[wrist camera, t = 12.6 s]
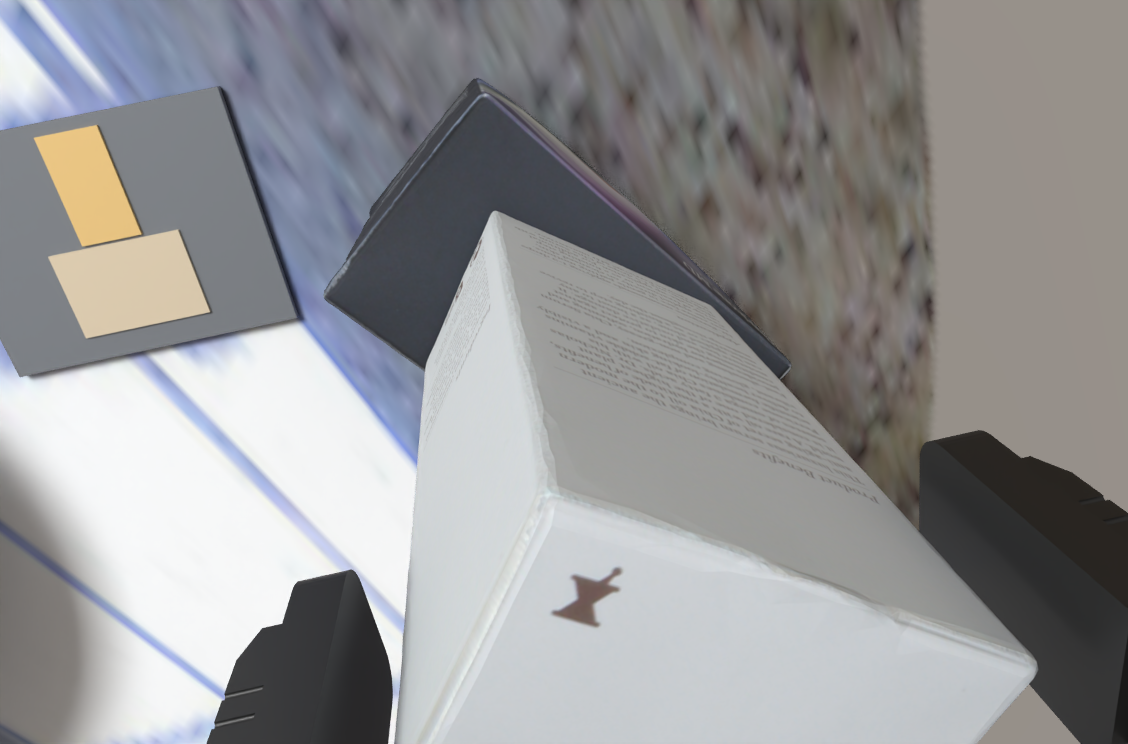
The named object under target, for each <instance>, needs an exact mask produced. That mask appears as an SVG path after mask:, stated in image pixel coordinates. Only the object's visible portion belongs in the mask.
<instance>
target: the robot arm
mask: <svg viewBox="0 0 1128 744" xmlns="http://www.w3.org/2000/svg"><path fill="white" fill-rule="evenodd" d="M919 532H920V533H921V534H922V535H923V536H924V538H925V539H926V540H927V541H928V542H929V543H930V544H931V545H932V546H933V547H934V548H935V549H936V550H937V552H938V553H939V554H940V555H941V556H942V557H943V558H944V559H945V560H946V562H947V563H948V564H949V565H950V566H951V568H952V569H953V570H954V571H955V572H956V573H957V574H958V575H959V577H960V578H961V579H962V580H963V581H964V582H965V583H966V584H967V585H968V586H969V587H970V588H971V589H972V590H973V591H974V592H975V594H976V595H977V596H978V597H979V598H980V599H981V600H982V601H983V602H984V603H985V605H986V606H987V607H988V608H989V609H990V610H991V611H992V612H993V613H994V614H995V616H996V617H997V618H998V619H999V620H1000V621H1001V622H1002V623H1003V624H1004V626H1005V627H1006V628H1007V629H1008V630H1009V631H1010V632H1011V633H1012V634H1013V635H1014V636H1015V637H1016V638H1017V639H1018V640H1019V641H1020V642H1021V644H1022V645H1023V646H1024V647H1025V648H1026V649H1027V650H1028V651H1029V652H1030V653H1031V654H1032V655H1033V657H1034V658H1035V660H1036V661H1037V665H1038V672H1037V674H1036V675H1035V677H1034V678H1033V680H1032V681H1031V682H1030V683H1029V685H1031V687H1032V688H1033V689H1034V690H1035V691H1036V693H1037V694H1038V695H1039V696H1040V697H1041V698H1042V699H1043V701H1044V702H1045V703H1046V704H1047V705H1048V706H1049V708H1050V709H1051V710H1052V711H1053V712H1054V713H1055V715H1056V716H1057V717H1058V718H1059V719H1060V720H1061V721H1062V723H1063V724H1064V725H1065V726H1066V727H1067V728H1068V729H1069V731H1070V732H1071V733H1072V734H1073V735H1074V736H1075V738H1076V739H1077V740H1078V741H1079V742H1080V743H1081V744H1128V513H1127V512H1126V511H1124V510H1123V509H1121V508H1120V507H1119V506H1117V505H1116V504H1115V503H1113V502H1112V501H1110V500H1106V501H1105V500H1104V498H1103V495H1102V494H1101V493H1099V492H1098V491H1097V490H1095V489H1093V488H1092V487H1091V486H1090V485H1088V484H1087V483H1086V482H1084V481H1083V480H1081V479H1080V478H1079V477H1077V476H1076V475H1074V474H1073V473H1072V472H1069V471H1067V470H1064V469H1061V468H1059V467H1056V466H1054V465H1051V464H1049V463H1046V462H1043V461H1041V460H1039V459H1036V458H1033V457H1031V456H1029V457H1025V458H1020V457H1019V456H1018V455H1016V454H1015V453H1014V452H1012V451H1011V450H1010V449H1009V448H1007V447H1006V446H1005V445H1003V444H1002V443H1001V442H999V441H998V440H997V439H995V438H994V437H993V436H992V435H990V434H989V433H987V432H985V431H980V430H978V431H974V432H969V433H965V434H960V435H956V436H951V437H947V438H942V439H939V440H933V441H929V442H926V443H925V444H924V445H923V446H922V449H921V453H920V503H919ZM392 699H393V688H392V677H391V670H390V664H389V660H388V656H387V653H386V650H385V647H384V644H383V642H382V639H381V636H380V633H379V631H378V628H377V625H376V623H375V620H374V617H373V614H372V612H371V609H370V606H369V603H368V601H367V598H366V595H365V592H364V590H363V587H362V584H361V582H360V579H359V577H358V575H357V574H356V572H355V571H353V570H347V571H343V572H338V573H334V574H330V575H325V576H321V577H316V578H312V579H307V580H303V581H298V582H297V583H296V584H295V585H294V587H293V590H292V593H291V597H290V600H289V603H288V607H287V610H286V613H285V616H284V620H283V623H282V624H279V625H275V626H270V627H266V628H262V629H261V631H260V632H259V633H258V634H257V636H256V637H255V638H254V639H253V641H252V642H251V643H250V644H249V646H248V647H247V648H246V649H245V650H244V652H243V653H242V654H241V655H240V657H239V658H238V659H237V660H236V663H235V666H234V669H233V672H232V674H231V677H230V680H229V683H228V685H227V688H226V691H225V700H223V701H222V702H221V705H220V708H219V711H218V713H217V716H216V719H215V722H214V723H215V729H212V730H211V733H210V736H209V738H208V741H207V744H388V739H389V729H390V720H391V710H392Z"/></svg>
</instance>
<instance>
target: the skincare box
mask: <svg viewBox="0 0 1128 744" xmlns="http://www.w3.org/2000/svg"><path fill="white" fill-rule="evenodd" d="M1037 672H1038V665H1037V661H1036V660H1035V658H1034V657H1033V655H1032V654H1031V653H1030V652H1029V651H1028V650H1027V649H1026V648H1025V647H1024V646H1023V645H1022V644H1021V642H1020V641H1019V640H1018V639H1017V638H1016V637H1015V636H1014V635H1013V634H1012V633H1011V632H1010V631H1009V630H1008V629H1007V628H1006V627H1005V626H1004V624H1003V623H1002V622H1001V621H1000V620H999V619H998V618H997V617H996V616H995V614H994V613H993V612H992V611H991V610H990V609H989V608H988V607H987V606H986V605H985V603H984V602H983V601H982V600H981V599H980V598H979V597H978V596H977V595H976V594H975V592H974V591H973V590H972V589H971V588H970V587H969V586H968V585H967V584H966V583H965V582H964V581H963V580H962V579H961V578H960V577H959V575H958V574H957V573H956V572H955V571H954V570H953V569H952V568H951V566H950V565H949V564H948V563H947V562H946V560H945V559H944V558H943V557H942V556H941V555H940V554H939V553H938V552H937V550H936V549H935V548H934V547H933V546H932V545H931V544H930V543H929V542H928V541H927V540H926V539H925V538H924V536H923V535H922V534H921V533H920V532H919V531H918V530H917V529H916V528H915V527H914V526H913V525H912V523H911V522H910V521H909V520H908V519H907V518H906V517H905V515H904V514H903V513H902V512H901V511H900V510H899V509H898V508H897V507H896V506H895V505H894V504H893V503H892V502H891V501H890V500H889V498H888V497H887V496H886V495H885V494H884V493H883V491H882V490H881V489H880V488H879V487H878V486H877V485H876V484H875V483H874V482H873V481H872V479H871V478H870V477H869V476H868V475H867V474H866V473H865V472H864V471H863V470H862V469H861V468H860V467H859V466H858V465H857V464H856V463H855V461H854V460H853V459H852V458H851V457H850V456H849V455H848V454H847V453H846V451H845V450H844V449H843V448H842V447H841V446H840V445H839V444H838V443H837V442H836V440H835V439H834V438H833V437H832V436H831V435H830V434H829V433H828V432H827V431H826V430H825V428H824V427H823V426H822V425H821V424H820V423H819V422H818V421H817V420H816V419H815V418H814V416H813V415H812V414H811V413H810V412H809V411H808V410H807V409H806V408H805V407H804V406H803V405H802V404H801V403H800V401H799V400H798V399H797V398H796V397H795V396H794V395H793V394H792V393H791V392H790V391H789V390H788V388H787V387H786V386H785V385H784V384H783V383H782V382H781V381H780V380H779V379H778V378H777V376H776V375H775V374H774V373H773V372H772V371H771V370H770V369H769V368H768V367H767V366H766V365H765V363H764V362H763V361H762V360H761V359H760V358H759V357H758V356H757V355H756V354H755V353H754V352H753V350H752V349H751V348H750V347H749V346H748V345H747V344H746V343H745V342H744V341H743V339H742V338H741V337H740V336H739V335H738V334H737V333H736V332H735V331H734V330H733V328H732V327H731V326H730V325H729V324H728V323H727V322H726V321H725V320H724V318H723V317H722V316H721V315H720V314H719V313H718V312H717V311H716V310H715V309H714V308H713V307H712V306H711V305H709V304H707V303H704V302H702V301H700V300H698V299H695V298H693V297H691V296H689V295H686V294H684V293H682V292H680V291H677V290H675V289H673V288H671V287H668V286H666V285H664V284H662V283H659V282H657V281H655V280H653V279H650V278H648V277H646V276H644V275H641V274H639V273H637V272H634V271H632V270H630V269H627V268H625V267H623V266H621V265H619V264H617V263H614V262H612V261H610V260H607V259H605V258H603V257H601V256H598V255H596V254H594V253H591V252H589V251H587V250H585V249H582V248H580V247H578V246H576V245H573V244H571V243H569V242H567V241H564V240H562V239H560V238H557V237H555V236H553V235H550V234H548V233H546V232H544V231H541V230H539V229H537V228H535V227H532V226H530V225H528V224H525V223H523V222H521V221H518V220H516V219H514V218H512V217H509V216H507V215H505V214H503V213H501V212H498V211H493V212H492V213H491V215H490V217H489V220H488V222H487V224H486V227H485V229H484V231H483V234H482V236H481V238H480V240H479V243H478V245H477V247H476V249H475V252H474V254H473V256H472V258H471V260H470V262H469V265H468V267H467V269H466V271H465V273H464V275H463V278H462V280H461V283H460V285H459V288H458V290H457V292H456V295H455V297H454V300H453V302H452V305H451V307H450V310H449V312H448V314H447V317H446V319H445V321H444V324H443V326H442V328H441V331H440V333H439V336H438V338H437V340H436V343H435V345H434V347H433V349H432V351H431V353H430V356H429V358H428V360H427V363H426V368H425V381H424V393H423V403H422V413H421V428H420V439H419V451H418V464H417V477H416V488H415V500H414V511H413V528H412V538H411V553H410V564H409V571H408V584H407V598H406V611H405V623H404V633H403V650H402V667H401V680H400V691H399V701H398V711H397V721H396V732H395V742H394V744H977V743H978V742H979V741H980V739H981V738H982V737H983V736H984V735H985V733H986V732H987V731H988V730H989V729H990V728H991V727H992V725H993V724H994V723H995V722H996V721H997V720H998V719H999V717H1000V716H1001V715H1002V714H1003V713H1004V712H1005V711H1006V709H1007V708H1008V707H1009V706H1010V705H1011V704H1012V703H1013V702H1014V700H1015V699H1016V698H1017V697H1018V696H1019V695H1020V694H1021V692H1022V691H1023V690H1024V689H1025V688H1026V687H1027V685H1028V684H1029V683H1030V682H1031V681H1032V680H1033V678H1034V677H1035V675H1036V674H1037Z"/></svg>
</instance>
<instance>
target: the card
mask: <svg viewBox="0 0 1128 744" xmlns="http://www.w3.org/2000/svg"><path fill="white" fill-rule="evenodd" d="M298 316H299V315H298V312H297V309H296V306H295V304H294V301H293V298H292V295H291V292H290V289H289V286H288V283H287V280H286V277H285V274H284V272H283V269H282V266H281V263H280V260H279V257H278V254H277V251H276V248H275V245H274V242H273V239H272V237H271V234H270V231H269V228H268V225H267V222H266V219H265V216H264V213H263V210H262V207H261V205H260V202H259V199H258V196H257V193H256V190H255V187H254V184H253V181H252V178H251V175H250V173H249V170H248V167H247V164H246V161H245V158H244V155H243V152H242V149H241V146H240V143H239V140H238V138H237V135H236V132H235V129H234V126H233V123H232V120H231V117H230V114H229V111H228V108H227V106H226V103H225V100H224V97H223V94H222V91H221V88H220V86H219V87H214V88H209V89H204V90H199V91H194V92H189V93H184V94H179V95H174V96H169V97H164V98H159V99H154V100H149V101H144V102H139V103H134V104H129V105H125V106H120V107H115V108H110V109H105V110H100V111H95V112H90V113H85V114H80V115H75V116H70V117H65V118H60V119H55V120H50V121H45V122H40V123H36V124H31V125H26V126H21V127H16V128H11V129H6V130H1V131H0V340H1V342H2V344H3V346H4V348H5V350H6V351H7V353H8V355H9V357H10V359H11V361H12V363H13V365H14V367H15V369H16V371H17V373H18V375H19V377H23V376H28V375H32V374H37V373H42V372H46V371H51V370H56V369H60V368H65V367H70V366H75V365H79V364H84V363H89V362H93V361H98V360H103V359H107V358H112V357H117V356H121V355H126V354H131V353H136V352H140V351H145V350H150V349H154V348H159V347H164V346H168V345H173V344H178V343H183V342H187V341H192V340H197V339H201V338H206V337H211V336H215V335H220V334H225V333H229V332H234V331H239V330H244V329H248V328H253V327H258V326H262V325H267V324H272V323H276V322H281V321H286V320H290V319H295V318H297V317H298Z"/></svg>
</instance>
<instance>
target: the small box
mask: <svg viewBox="0 0 1128 744" xmlns="http://www.w3.org/2000/svg"><path fill="white" fill-rule="evenodd" d="M493 211H498V212H501V213H503V214H505V215H507V216H509V217H512V218H514V219H516V220H518V221H521V222H523V223H525V224H528V225H530V226H532V227H535V228H537V229H539V230H541V231H544V232H546V233H548V234H550V235H553V236H555V237H557V238H560V239H562V240H564V241H567V242H569V243H571V244H573V245H576V246H578V247H580V248H582V249H585V250H587V251H589V252H591V253H594V254H596V255H598V256H601V257H603V258H605V259H607V260H610V261H612V262H614V263H617V264H619V265H621V266H623V267H625V268H627V269H630V270H632V271H634V272H637V273H639V274H641V275H644V276H646V277H648V278H650V279H653V280H655V281H657V282H659V283H662V284H664V285H666V286H668V287H671V288H673V289H675V290H677V291H680V292H682V293H684V294H686V295H689V296H691V297H693V298H695V299H698V300H700V301H702V302H704V303H707V304H709V305H711V306H712V307H713V308H714V309H715V310H716V311H717V312H718V313H719V314H720V315H721V316H722V317H723V318H724V320H725V321H726V322H727V323H728V324H729V325H730V326H731V327H732V328H733V330H734V331H735V332H736V333H737V334H738V335H739V336H740V337H741V338H742V339H743V341H744V342H745V343H746V344H747V345H748V346H749V347H750V348H751V349H752V350H753V352H754V353H755V354H756V355H757V356H758V357H759V358H760V359H761V360H762V361H763V362H764V363H765V365H766V366H767V367H768V368H769V369H770V370H771V371H772V372H773V373H774V374H775V375H776V376H777V378H778V379H779V380H781V379H782V378H783V377H784V376H785V375H786V374H787V373H788V372H789V371H790V369H791V366H792V365H791V363H790V361H789V360H788V359H787V358H786V357H785V356H784V355H783V354H782V353H781V352H780V351H779V350H778V349H777V348H776V347H775V345H774V344H773V343H772V342H771V341H770V340H769V339H768V337H767V336H766V335H765V334H764V333H763V332H762V331H761V330H760V329H759V328H758V327H757V326H756V325H755V324H754V323H753V322H752V321H751V319H750V318H749V317H748V316H747V315H746V314H745V313H744V312H743V311H742V310H741V309H740V308H739V307H738V306H737V305H736V304H735V303H734V302H733V301H732V300H731V299H730V298H729V297H728V296H727V295H726V294H725V293H724V291H723V290H722V289H721V288H720V287H719V286H718V285H717V284H716V283H715V282H714V281H713V280H712V279H711V278H709V277H708V276H707V275H706V274H705V273H704V272H703V271H702V270H701V269H700V268H699V267H698V266H697V265H696V264H695V263H694V262H693V261H692V260H691V259H690V258H689V257H688V256H687V255H686V254H685V253H684V252H683V251H682V250H681V249H680V248H679V247H678V246H677V245H676V244H675V243H674V242H673V241H672V240H670V239H669V238H668V237H667V236H666V235H665V234H664V233H663V232H662V231H661V230H660V229H659V228H658V227H657V226H656V225H655V224H654V223H653V222H652V221H651V220H650V219H649V218H647V217H646V216H645V215H644V214H643V213H642V212H641V211H640V210H639V209H638V208H637V207H636V206H635V205H634V204H632V203H631V202H630V201H629V200H628V199H627V198H626V197H625V196H624V195H623V194H622V193H621V192H620V191H619V190H617V189H616V188H615V187H614V186H613V185H612V184H610V183H609V182H608V181H607V180H606V179H605V178H603V177H602V176H601V175H600V174H599V173H598V172H596V171H595V170H594V169H593V168H592V167H591V166H589V165H588V164H587V163H586V162H585V161H583V160H582V159H581V158H580V157H579V156H578V155H576V154H575V153H574V152H573V151H572V150H571V149H570V148H568V147H567V146H566V145H565V144H564V143H562V142H561V141H560V140H559V139H558V138H557V137H555V136H554V135H553V134H552V133H551V132H550V131H548V130H547V129H546V128H545V127H544V126H543V125H541V124H540V123H539V122H538V121H537V120H535V119H534V118H533V117H532V116H530V115H529V114H528V113H527V112H525V111H524V110H523V109H522V108H520V107H519V106H518V105H517V104H515V103H514V102H513V101H512V100H510V99H509V98H507V97H506V96H505V95H503V94H502V93H501V92H499V91H498V90H496V89H495V88H493V87H492V86H490V85H489V84H487V83H486V82H484V81H483V80H481V79H478V78H476V79H473V80H472V81H471V83H470V84H469V85H468V86H467V87H466V89H465V90H464V91H463V93H462V94H461V95H460V96H459V97H458V99H457V100H456V101H455V102H454V103H453V105H452V106H451V107H450V108H449V109H448V110H447V112H446V113H445V114H444V115H443V117H442V118H441V120H440V121H439V122H438V123H437V125H436V126H435V127H434V129H433V130H432V131H431V132H430V133H429V135H428V136H427V137H426V139H425V140H424V141H423V143H422V144H421V145H420V146H419V148H418V149H417V150H416V151H415V153H414V154H413V155H412V157H411V158H410V159H409V160H408V161H407V163H406V164H405V166H404V167H403V168H402V169H401V170H400V172H399V173H398V174H397V176H396V177H395V178H394V179H393V180H392V182H391V183H390V184H389V186H388V187H387V188H386V190H385V191H384V192H383V193H382V195H381V196H380V197H379V199H378V200H377V201H376V202H375V203H374V205H373V206H372V208H371V209H370V218H369V219H368V220H367V222H366V224H365V225H364V227H363V230H362V232H361V234H360V235H359V237H358V239H357V240H356V242H355V244H354V246H353V247H352V249H351V251H350V253H349V254H348V257H347V259H346V262H345V263H344V264H343V266H342V268H341V269H340V270H339V271H338V272H337V273H336V275H335V276H334V277H333V278H332V280H331V281H330V283H329V284H328V286H327V288H326V289H325V291H324V299H325V300H326V301H327V302H328V303H330V304H331V305H333V306H334V307H336V308H337V309H339V310H340V311H341V312H343V313H344V314H345V315H347V316H348V317H349V318H351V319H352V320H354V321H355V322H356V323H358V324H359V325H361V326H362V327H363V328H365V329H366V330H367V331H369V332H370V333H372V334H373V335H374V336H376V337H377V338H379V339H380V340H382V341H383V342H384V343H386V344H387V345H388V346H390V347H391V348H392V349H394V350H395V351H397V352H398V353H399V354H401V355H402V356H403V357H405V358H406V359H408V360H409V361H411V362H412V363H414V364H415V365H416V366H418V367H419V368H421V369H422V370H423V371H424V372H425V368H426V363H427V360H428V358H429V356H430V353H431V351H432V349H433V347H434V345H435V343H436V340H437V338H438V336H439V333H440V331H441V328H442V326H443V324H444V321H445V319H446V317H447V314H448V312H449V310H450V307H451V305H452V302H453V300H454V297H455V295H456V292H457V290H458V288H459V285H460V283H461V280H462V278H463V275H464V273H465V271H466V269H467V267H468V265H469V262H470V260H471V258H472V256H473V254H474V252H475V249H476V247H477V245H478V243H479V240H480V238H481V236H482V234H483V231H484V229H485V227H486V224H487V222H488V220H489V217H490V215H491V213H492V212H493Z"/></svg>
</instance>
